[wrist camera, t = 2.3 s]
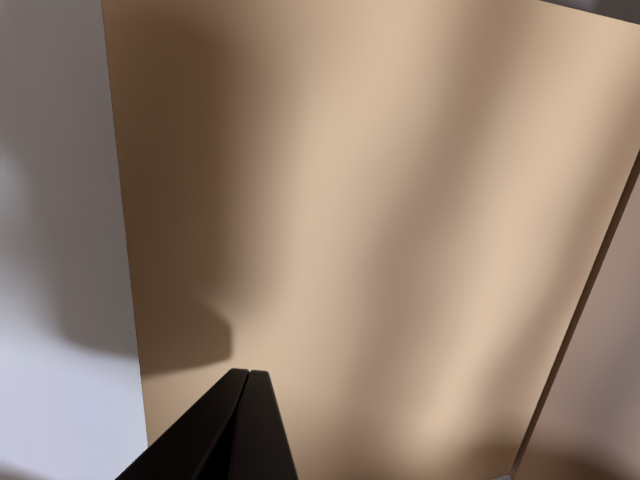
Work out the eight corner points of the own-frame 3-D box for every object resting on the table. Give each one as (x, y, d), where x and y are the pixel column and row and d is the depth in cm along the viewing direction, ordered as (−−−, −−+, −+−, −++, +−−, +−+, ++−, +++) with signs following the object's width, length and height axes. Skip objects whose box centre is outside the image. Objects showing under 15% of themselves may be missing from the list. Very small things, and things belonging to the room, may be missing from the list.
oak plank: (616, 41, 12) (685, 36, 10) (480, 438, 18) (509, 473, 16) (110, -66, 7) (89, -110, 5) (165, 526, 13) (162, 587, 11)
